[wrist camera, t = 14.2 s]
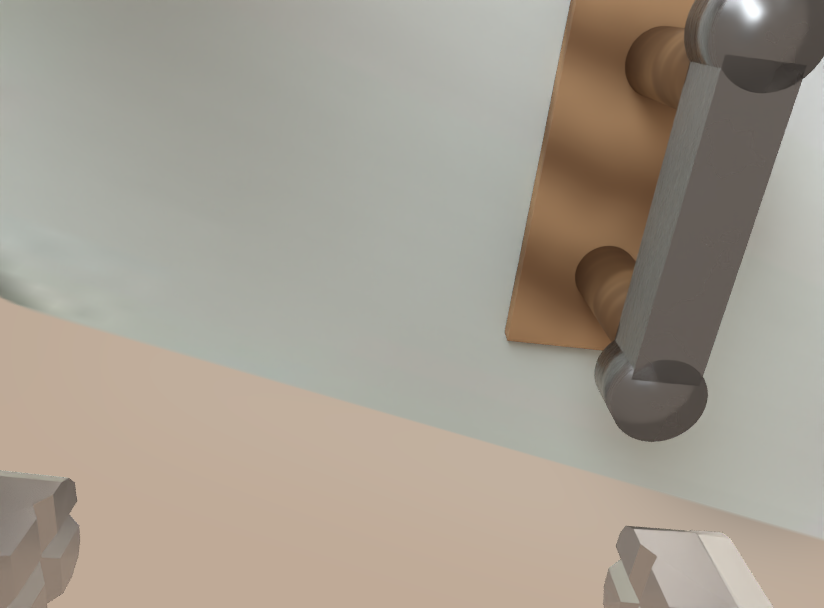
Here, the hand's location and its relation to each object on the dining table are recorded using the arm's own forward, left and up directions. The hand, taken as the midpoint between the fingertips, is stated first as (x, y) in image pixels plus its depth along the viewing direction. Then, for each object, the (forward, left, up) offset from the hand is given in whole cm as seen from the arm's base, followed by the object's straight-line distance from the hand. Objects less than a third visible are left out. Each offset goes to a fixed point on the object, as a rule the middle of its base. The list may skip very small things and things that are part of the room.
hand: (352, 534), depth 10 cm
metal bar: (0, +14, -22) cm, 26 cm away
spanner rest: (0, +14, -31) cm, 34 cm away
